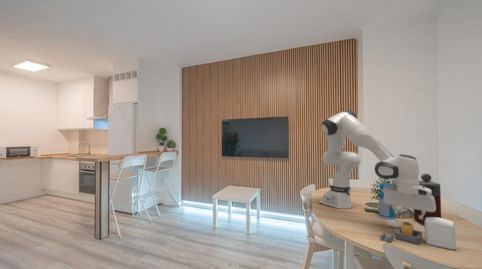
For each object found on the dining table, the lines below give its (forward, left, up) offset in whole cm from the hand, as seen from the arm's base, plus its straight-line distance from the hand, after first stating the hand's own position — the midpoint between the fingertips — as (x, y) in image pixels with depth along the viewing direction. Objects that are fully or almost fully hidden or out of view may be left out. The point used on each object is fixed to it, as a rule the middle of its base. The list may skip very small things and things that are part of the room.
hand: (408, 216), depth 107 cm
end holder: (0, -1, -10) cm, 10 cm away
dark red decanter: (+4, +29, -10) cm, 31 cm away
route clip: (-7, -10, -10) cm, 16 cm away
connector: (0, -1, -9) cm, 9 cm away
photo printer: (+11, 0, -10) cm, 15 cm away
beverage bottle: (-15, +25, -10) cm, 31 cm away
